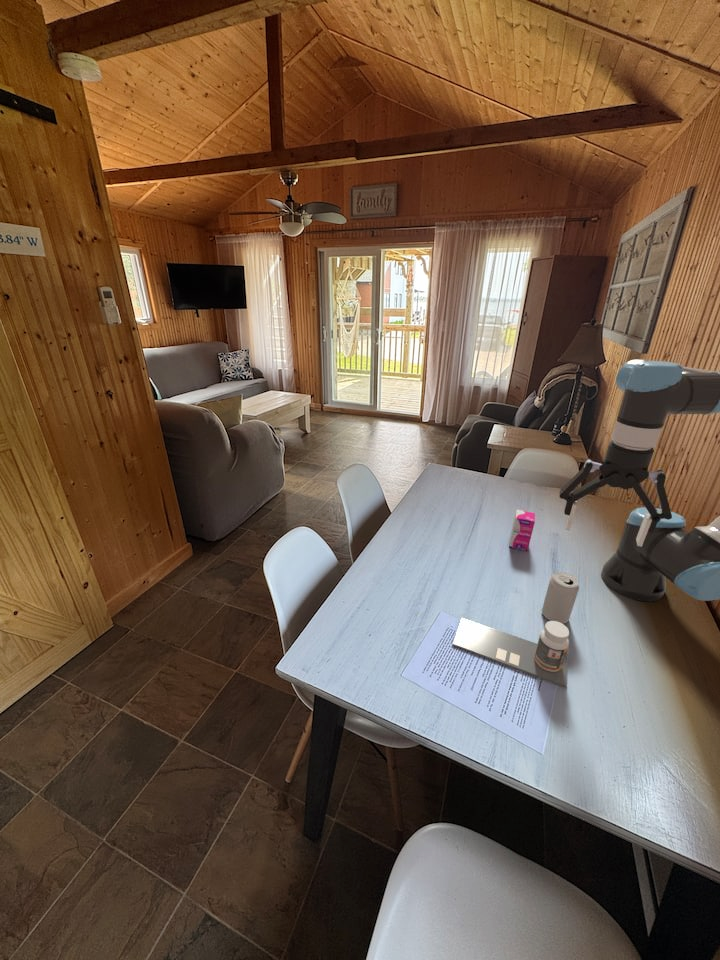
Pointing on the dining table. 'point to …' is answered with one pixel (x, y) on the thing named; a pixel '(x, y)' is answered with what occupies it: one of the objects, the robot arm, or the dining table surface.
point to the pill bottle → (552, 646)
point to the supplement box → (522, 530)
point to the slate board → (505, 650)
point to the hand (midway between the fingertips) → (602, 535)
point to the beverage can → (560, 597)
